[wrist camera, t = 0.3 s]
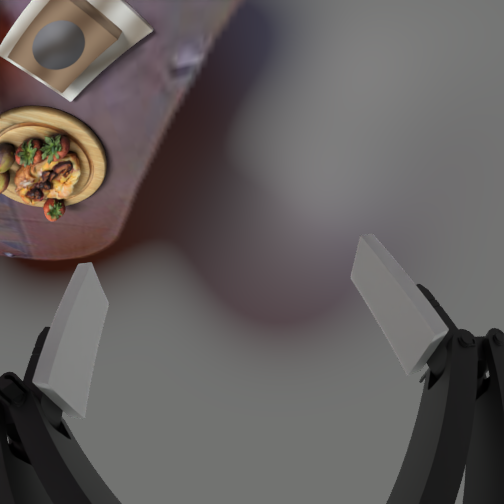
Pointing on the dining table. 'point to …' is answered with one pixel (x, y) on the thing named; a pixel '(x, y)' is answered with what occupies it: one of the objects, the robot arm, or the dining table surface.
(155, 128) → the dining table surface
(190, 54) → the dining table surface
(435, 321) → the robot arm
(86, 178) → the wooden plate with food
